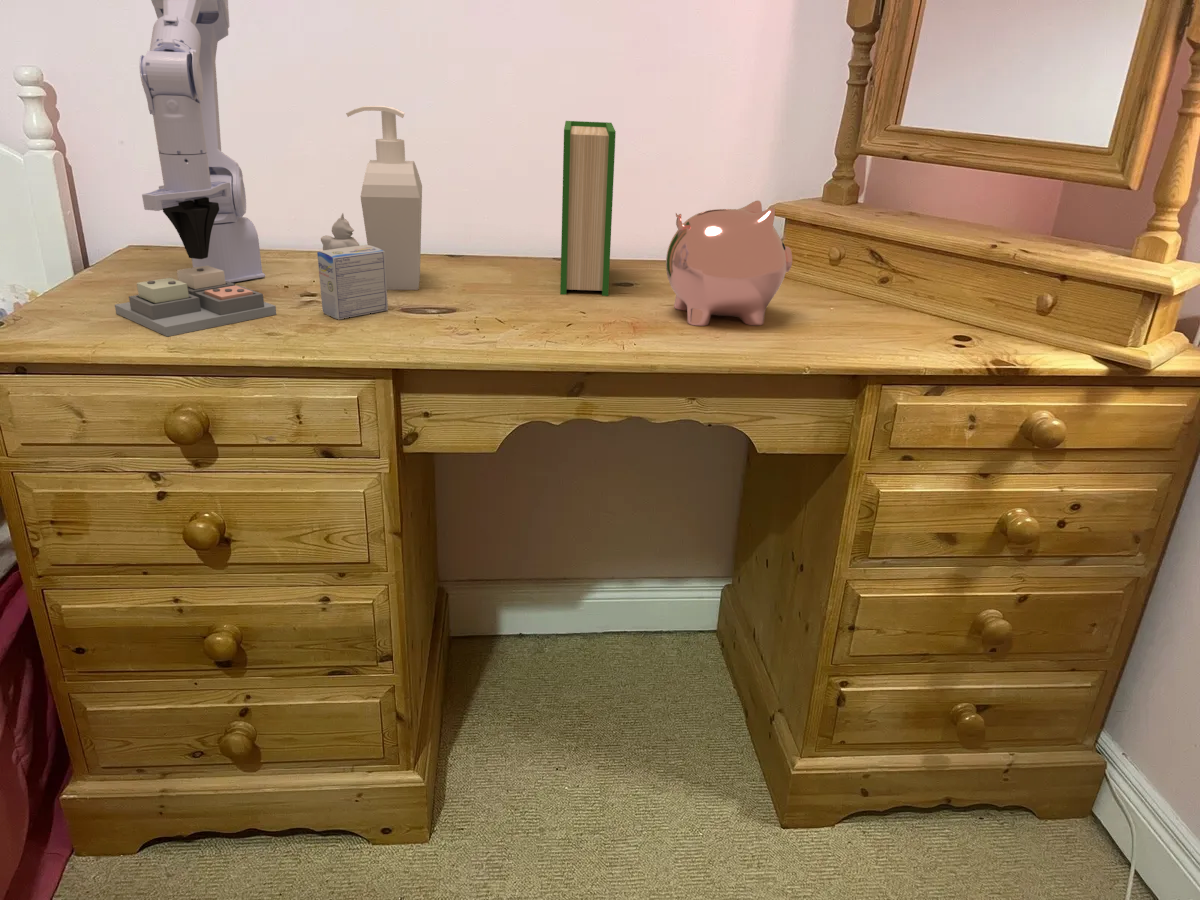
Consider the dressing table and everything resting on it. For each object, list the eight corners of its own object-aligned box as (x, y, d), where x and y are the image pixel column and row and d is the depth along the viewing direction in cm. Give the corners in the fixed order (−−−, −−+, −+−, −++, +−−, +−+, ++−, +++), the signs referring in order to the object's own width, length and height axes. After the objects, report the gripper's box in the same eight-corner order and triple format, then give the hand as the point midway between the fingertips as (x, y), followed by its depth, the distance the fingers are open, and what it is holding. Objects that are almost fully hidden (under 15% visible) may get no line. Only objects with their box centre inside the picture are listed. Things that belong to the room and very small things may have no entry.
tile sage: (172, 291, 117) (170, 276, 116) (188, 297, 114) (186, 282, 114) (138, 296, 114) (136, 281, 113) (155, 303, 111) (152, 287, 111)
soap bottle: (362, 273, 143) (350, 102, 132) (425, 274, 144) (418, 105, 133) (355, 293, 131) (341, 108, 121) (423, 293, 133) (416, 110, 122)
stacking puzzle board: (222, 294, 128) (220, 274, 126) (276, 314, 120) (274, 292, 118) (116, 313, 117) (111, 291, 116) (167, 336, 109) (163, 312, 108)
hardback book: (608, 296, 136) (615, 131, 126) (560, 294, 136) (564, 129, 126) (605, 270, 152) (611, 122, 142) (562, 268, 152) (565, 120, 142)
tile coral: (237, 298, 121) (235, 283, 120) (254, 304, 118) (252, 290, 117) (206, 303, 117) (204, 289, 117) (223, 310, 115) (221, 295, 114)
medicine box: (372, 304, 126) (368, 243, 123) (389, 311, 123) (385, 249, 120) (321, 313, 121) (315, 250, 117) (338, 321, 118) (332, 256, 115)
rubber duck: (354, 263, 149) (351, 215, 146) (316, 261, 149) (312, 213, 146) (365, 257, 154) (362, 210, 151) (328, 255, 154) (324, 208, 151)
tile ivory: (209, 278, 124) (207, 264, 123) (225, 284, 121) (223, 269, 121) (178, 283, 121) (176, 268, 120) (194, 289, 118) (192, 274, 117)
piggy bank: (801, 330, 123) (817, 213, 117) (676, 331, 120) (685, 212, 114) (764, 301, 137) (777, 196, 130) (652, 302, 134) (659, 194, 127)
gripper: (194, 146, 121) (208, 245, 127) (114, 155, 109) (134, 265, 114) (238, 149, 120) (251, 250, 125) (163, 159, 107) (180, 270, 112)
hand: (198, 257), depth 120 cm, fingers closed
